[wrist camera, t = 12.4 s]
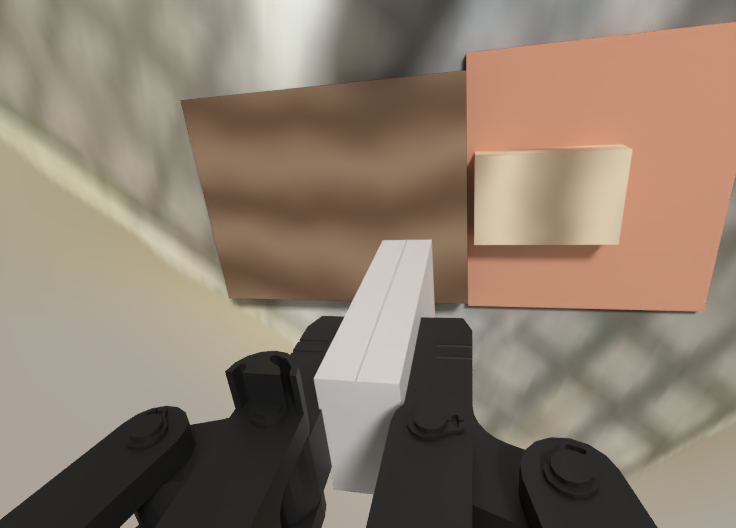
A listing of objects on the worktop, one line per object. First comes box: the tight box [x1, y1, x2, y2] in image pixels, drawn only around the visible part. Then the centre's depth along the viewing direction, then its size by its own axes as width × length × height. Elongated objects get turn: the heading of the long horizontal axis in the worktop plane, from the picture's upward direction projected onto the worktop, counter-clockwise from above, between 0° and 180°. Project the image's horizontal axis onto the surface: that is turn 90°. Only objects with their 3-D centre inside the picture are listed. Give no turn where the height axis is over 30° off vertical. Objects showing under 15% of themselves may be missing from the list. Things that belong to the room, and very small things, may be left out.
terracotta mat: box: [466, 22, 736, 311], centre depth 29 cm, size 18×16×1 cm
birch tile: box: [474, 144, 633, 245], centre depth 29 cm, size 9×6×2 cm, turn 95°
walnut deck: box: [180, 70, 468, 304], centre depth 33 cm, size 16×20×2 cm
